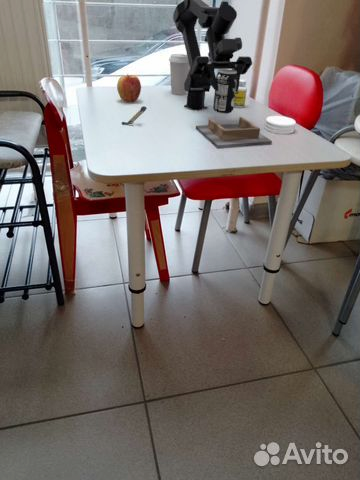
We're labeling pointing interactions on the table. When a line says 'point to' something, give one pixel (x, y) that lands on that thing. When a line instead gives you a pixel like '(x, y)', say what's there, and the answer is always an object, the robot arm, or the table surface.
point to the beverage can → (225, 91)
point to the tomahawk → (135, 117)
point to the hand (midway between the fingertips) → (227, 90)
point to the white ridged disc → (280, 124)
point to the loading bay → (233, 134)
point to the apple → (129, 88)
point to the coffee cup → (178, 73)
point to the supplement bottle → (240, 94)
